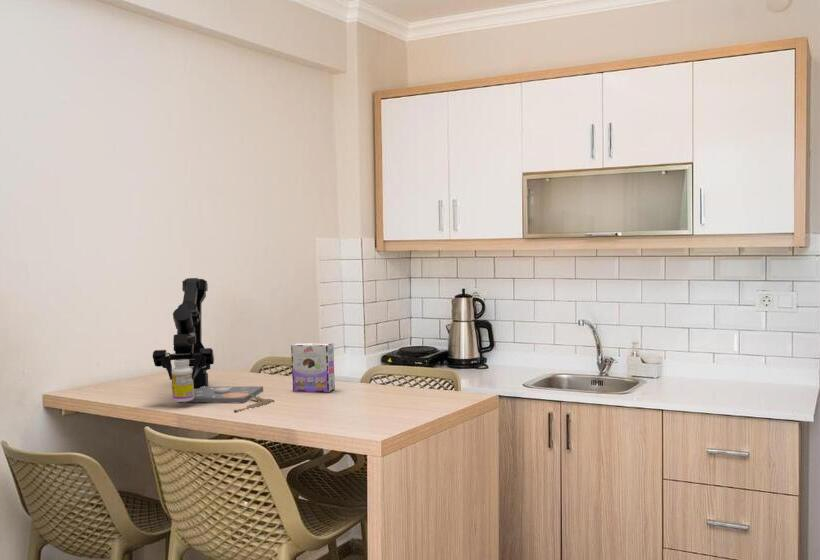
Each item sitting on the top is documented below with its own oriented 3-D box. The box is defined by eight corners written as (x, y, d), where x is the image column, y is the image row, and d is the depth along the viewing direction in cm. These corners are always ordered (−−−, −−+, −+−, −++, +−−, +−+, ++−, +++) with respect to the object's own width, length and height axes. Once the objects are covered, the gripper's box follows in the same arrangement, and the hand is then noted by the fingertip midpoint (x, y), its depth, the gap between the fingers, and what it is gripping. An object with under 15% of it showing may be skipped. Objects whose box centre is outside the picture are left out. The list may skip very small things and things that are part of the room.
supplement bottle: (175, 398, 262) (173, 358, 261) (195, 397, 263) (194, 358, 262) (170, 402, 256) (168, 362, 255) (192, 401, 256) (190, 361, 255)
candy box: (335, 390, 281) (334, 342, 280) (328, 393, 275) (327, 345, 274) (299, 388, 285) (298, 342, 284) (291, 391, 280) (290, 344, 279)
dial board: (178, 402, 264) (178, 394, 264) (202, 390, 285) (202, 383, 285) (244, 403, 261) (243, 394, 261) (263, 390, 282) (262, 383, 282)
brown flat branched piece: (277, 402, 267) (277, 396, 267) (262, 416, 246) (262, 410, 246) (250, 400, 267) (250, 394, 267) (233, 414, 247) (233, 408, 247)
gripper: (152, 325, 260) (147, 365, 250) (211, 323, 263) (209, 362, 253) (157, 346, 269) (152, 385, 258) (215, 344, 271) (212, 382, 261)
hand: (181, 378), depth 257 cm, fingers closed on supplement bottle, 6 cm apart
